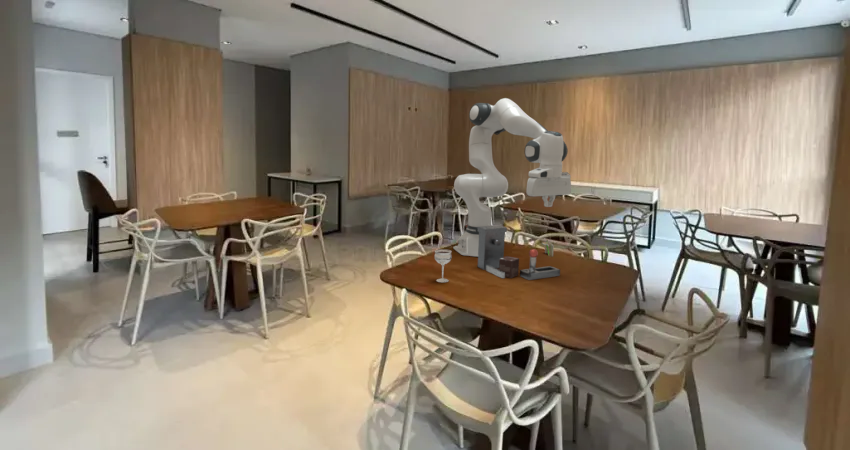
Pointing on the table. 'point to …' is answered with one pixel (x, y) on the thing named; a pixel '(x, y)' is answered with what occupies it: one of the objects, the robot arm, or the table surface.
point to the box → (509, 266)
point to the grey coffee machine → (491, 248)
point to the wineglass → (442, 260)
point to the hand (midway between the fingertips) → (548, 206)
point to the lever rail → (540, 273)
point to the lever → (532, 260)
